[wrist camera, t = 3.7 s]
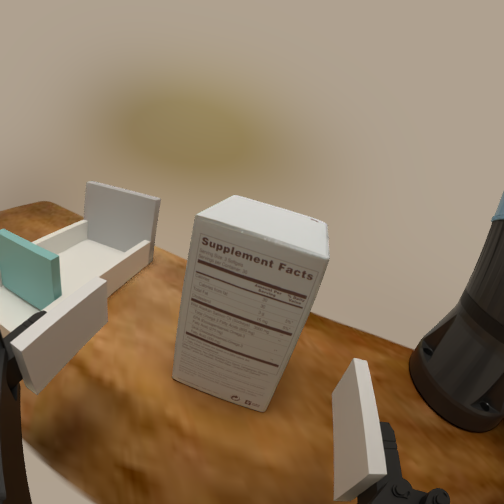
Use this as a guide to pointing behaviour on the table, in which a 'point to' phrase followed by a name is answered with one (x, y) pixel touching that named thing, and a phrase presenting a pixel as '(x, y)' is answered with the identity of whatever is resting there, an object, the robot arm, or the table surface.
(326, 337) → the table surface
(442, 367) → the robot arm
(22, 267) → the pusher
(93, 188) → the tray
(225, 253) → the supplement box
